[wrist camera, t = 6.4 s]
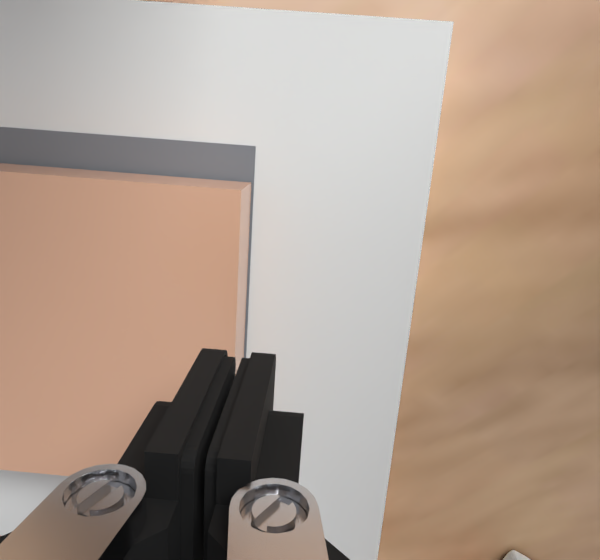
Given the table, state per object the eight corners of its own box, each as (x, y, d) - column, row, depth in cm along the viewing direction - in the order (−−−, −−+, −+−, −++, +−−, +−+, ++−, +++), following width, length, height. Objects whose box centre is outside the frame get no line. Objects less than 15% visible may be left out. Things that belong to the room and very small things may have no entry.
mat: (445, 28, 14) (454, 21, 13) (372, 550, 20) (375, 573, 19) (-116, -10, 15) (-147, -20, 14) (-42, 510, 20) (-62, 530, 19)
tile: (241, 190, 13) (-109, 162, 13) (229, 491, 16) (-64, 463, 16) (252, 182, 15) (-55, 158, 15) (240, 452, 18) (-22, 427, 18)
